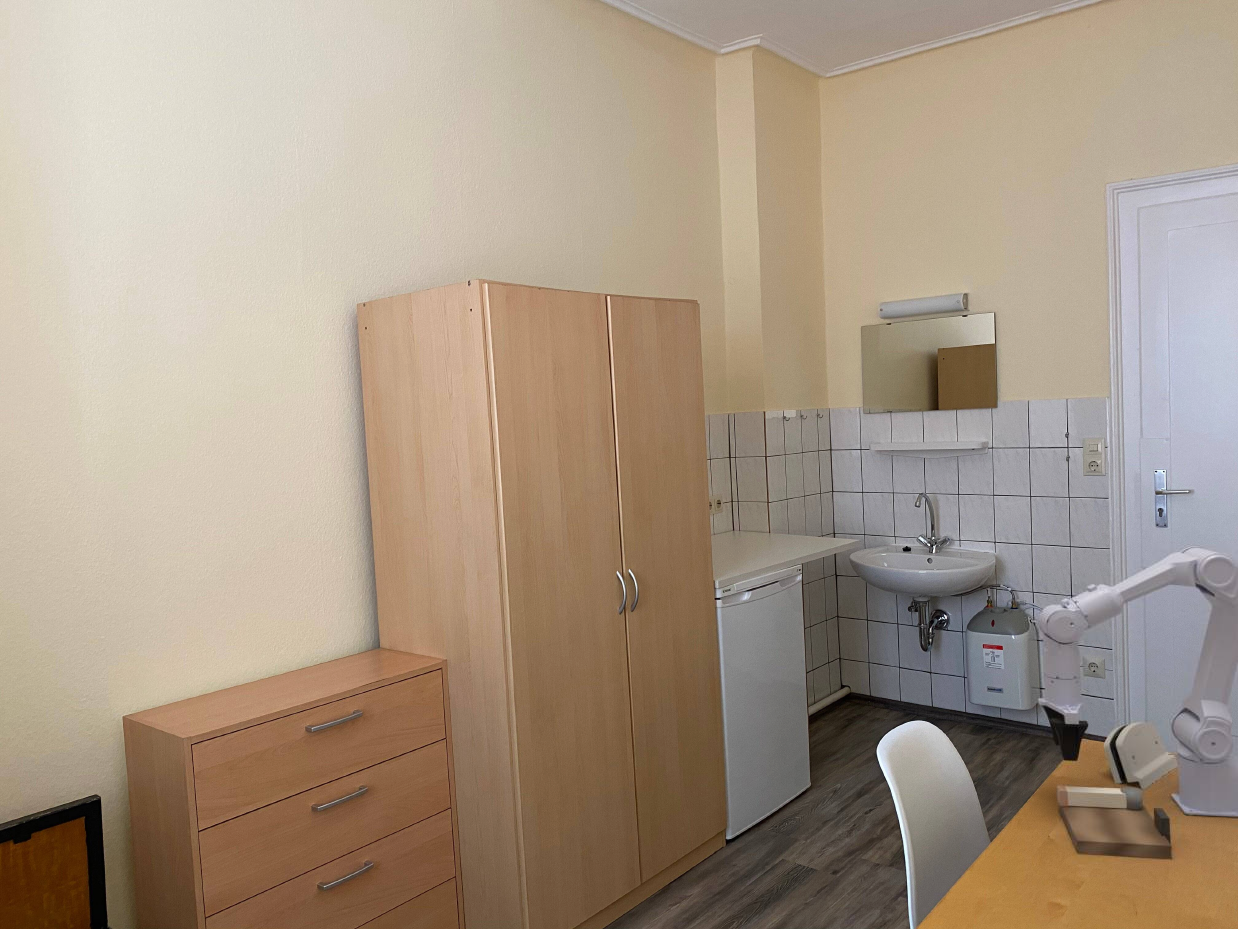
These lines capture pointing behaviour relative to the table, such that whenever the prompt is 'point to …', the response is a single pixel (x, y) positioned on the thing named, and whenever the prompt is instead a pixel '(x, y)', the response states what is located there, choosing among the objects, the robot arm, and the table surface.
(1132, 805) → the folding leg
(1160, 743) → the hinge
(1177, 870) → the table surface
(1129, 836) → the stool seat
